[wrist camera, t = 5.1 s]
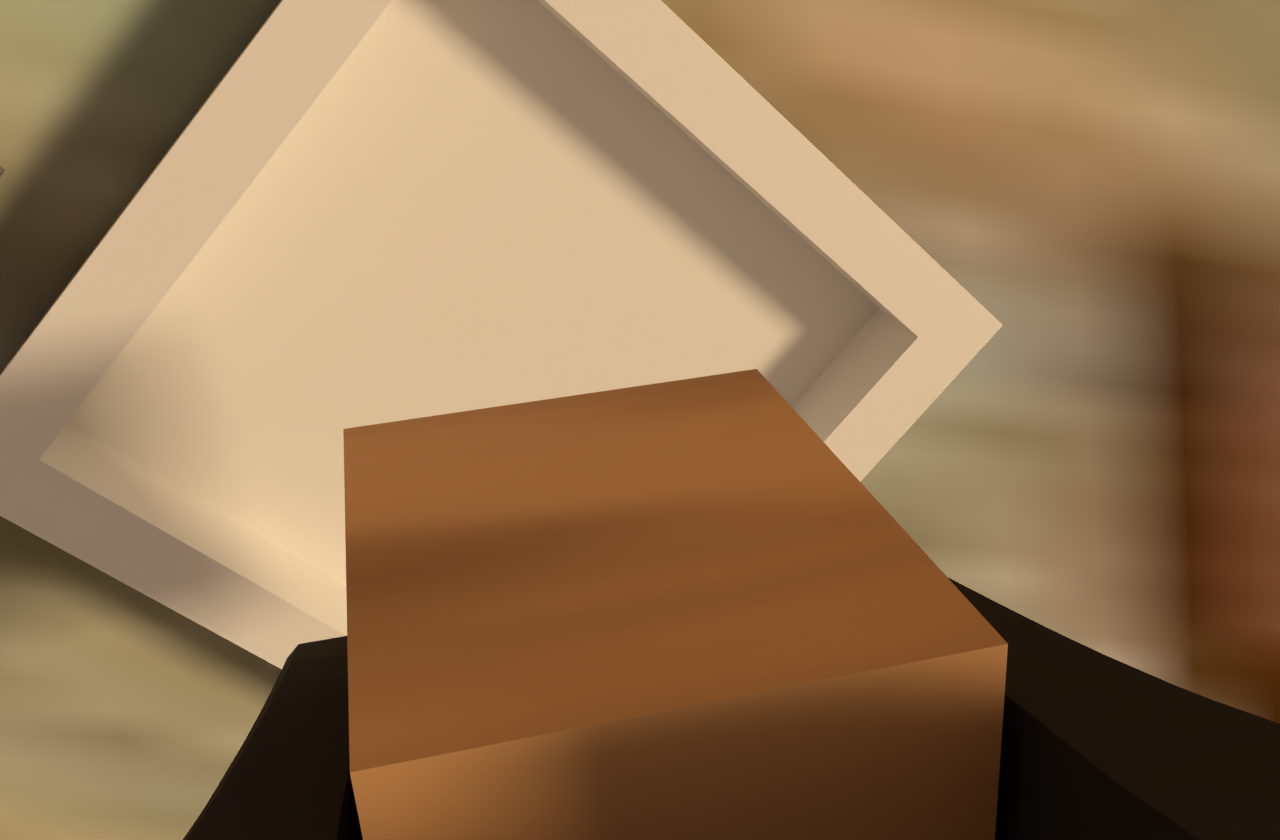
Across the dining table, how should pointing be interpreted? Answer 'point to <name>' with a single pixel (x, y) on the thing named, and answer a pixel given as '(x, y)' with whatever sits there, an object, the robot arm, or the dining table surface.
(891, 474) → the dining table surface
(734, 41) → the dining table surface
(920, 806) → the block
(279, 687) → the robot arm
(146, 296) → the tray
